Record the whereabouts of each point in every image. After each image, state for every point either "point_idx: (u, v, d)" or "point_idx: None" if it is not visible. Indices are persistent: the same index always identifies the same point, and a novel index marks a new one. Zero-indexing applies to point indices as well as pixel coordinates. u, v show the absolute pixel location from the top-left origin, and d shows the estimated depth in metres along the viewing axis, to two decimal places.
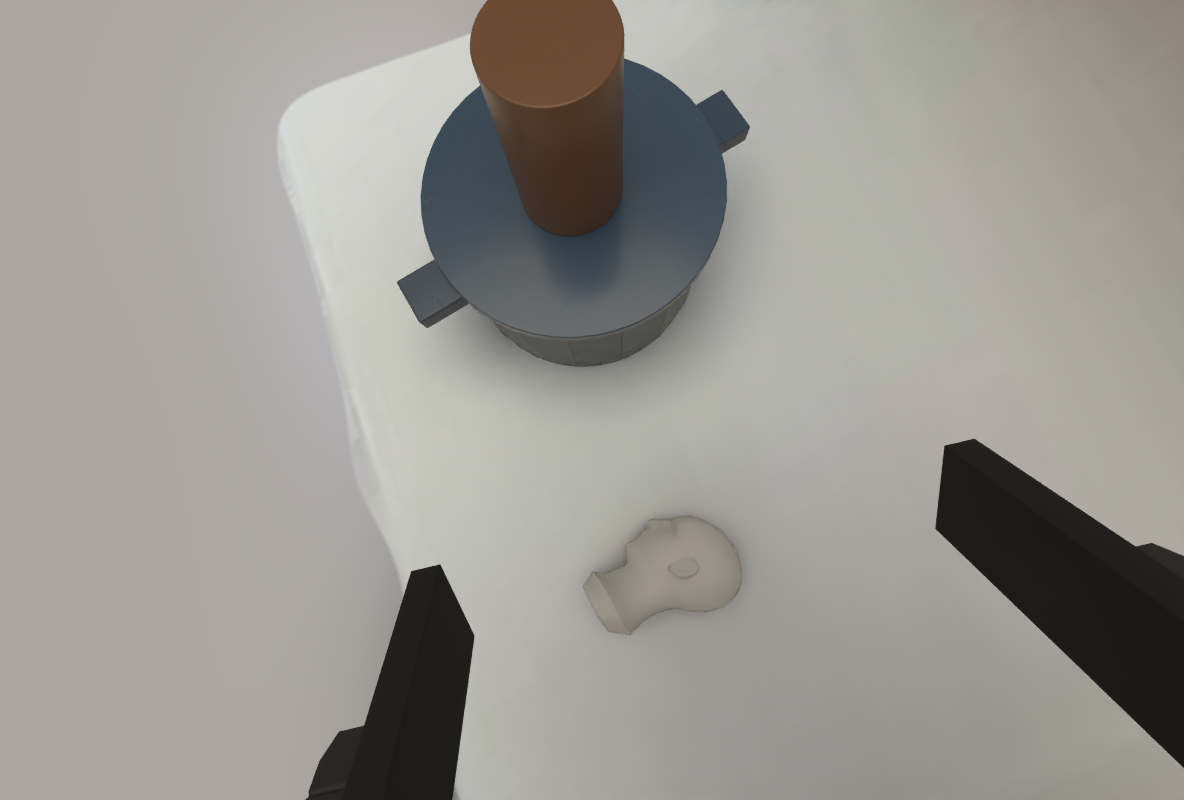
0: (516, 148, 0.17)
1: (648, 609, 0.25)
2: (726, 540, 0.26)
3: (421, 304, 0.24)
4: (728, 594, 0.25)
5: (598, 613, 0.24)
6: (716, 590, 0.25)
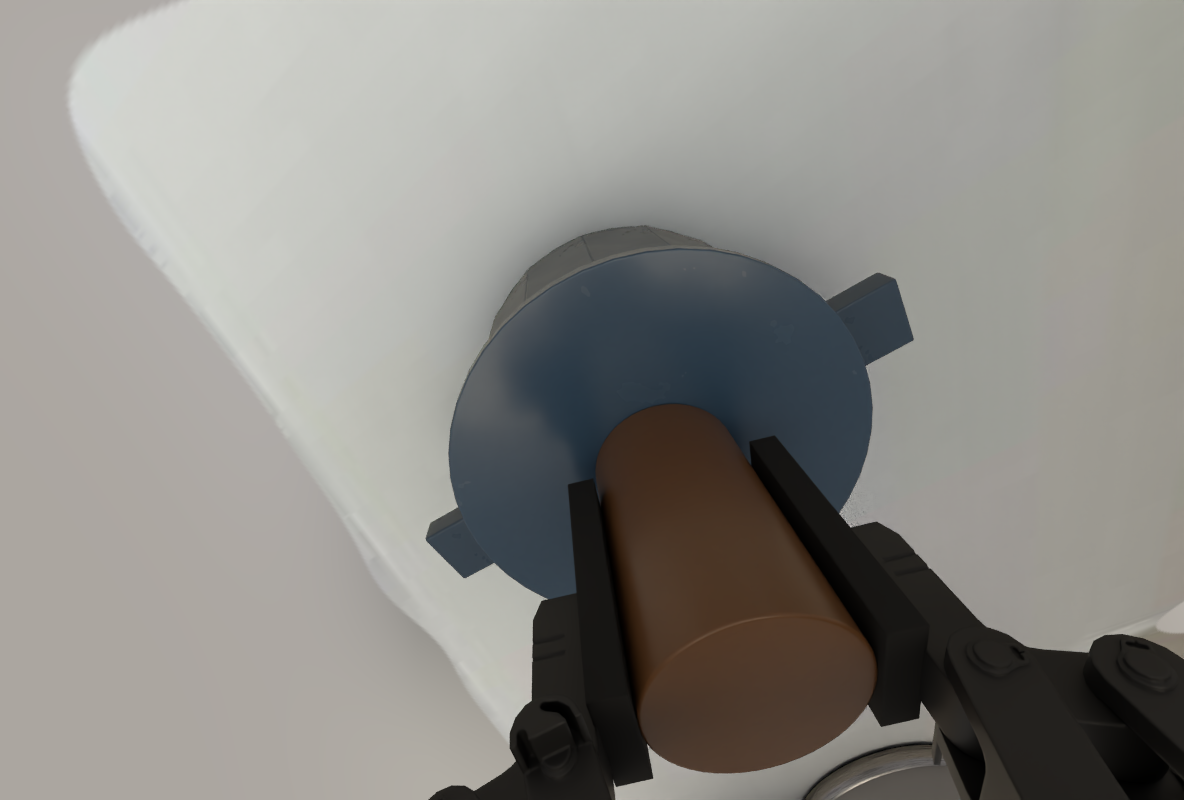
0: None
1: None
2: None
3: (463, 562, 0.19)
4: None
5: None
6: None
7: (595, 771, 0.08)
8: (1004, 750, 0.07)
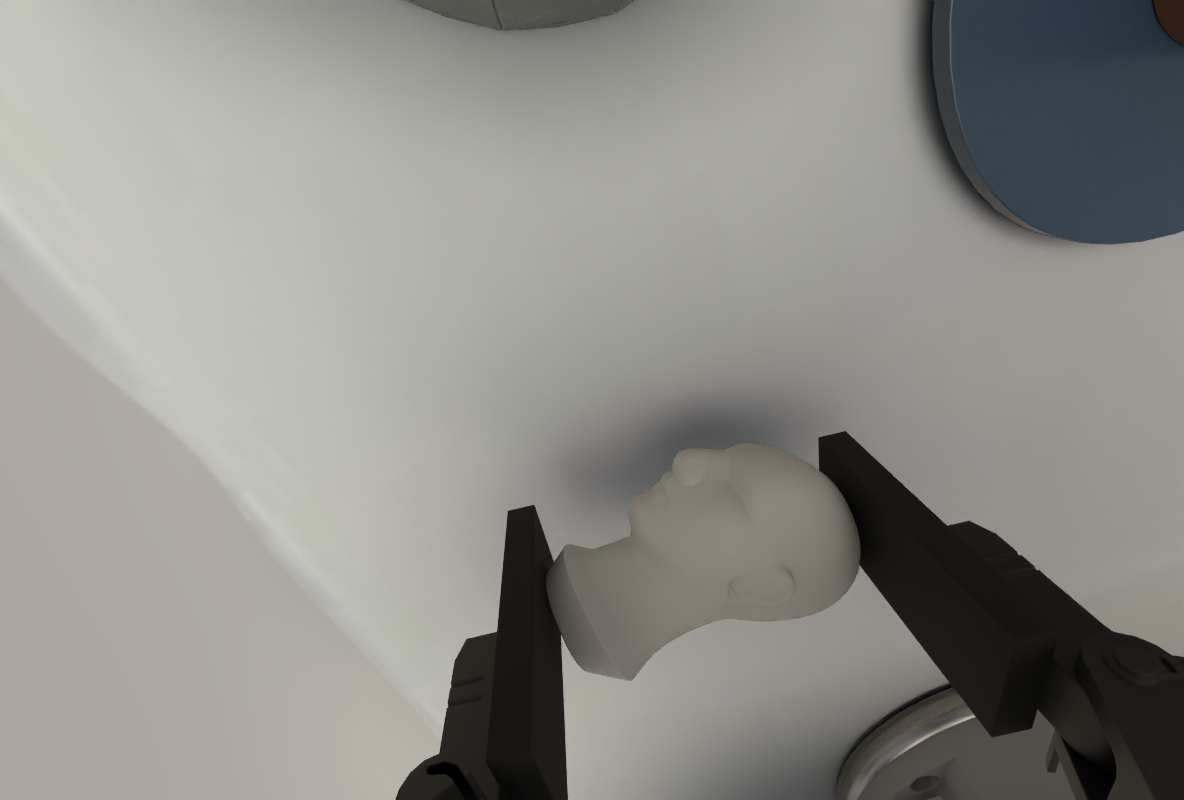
0: None
1: (677, 635, 0.13)
2: (846, 510, 0.12)
3: None
4: None
5: (583, 667, 0.12)
6: (815, 608, 0.12)
7: None
8: (1143, 758, 0.07)
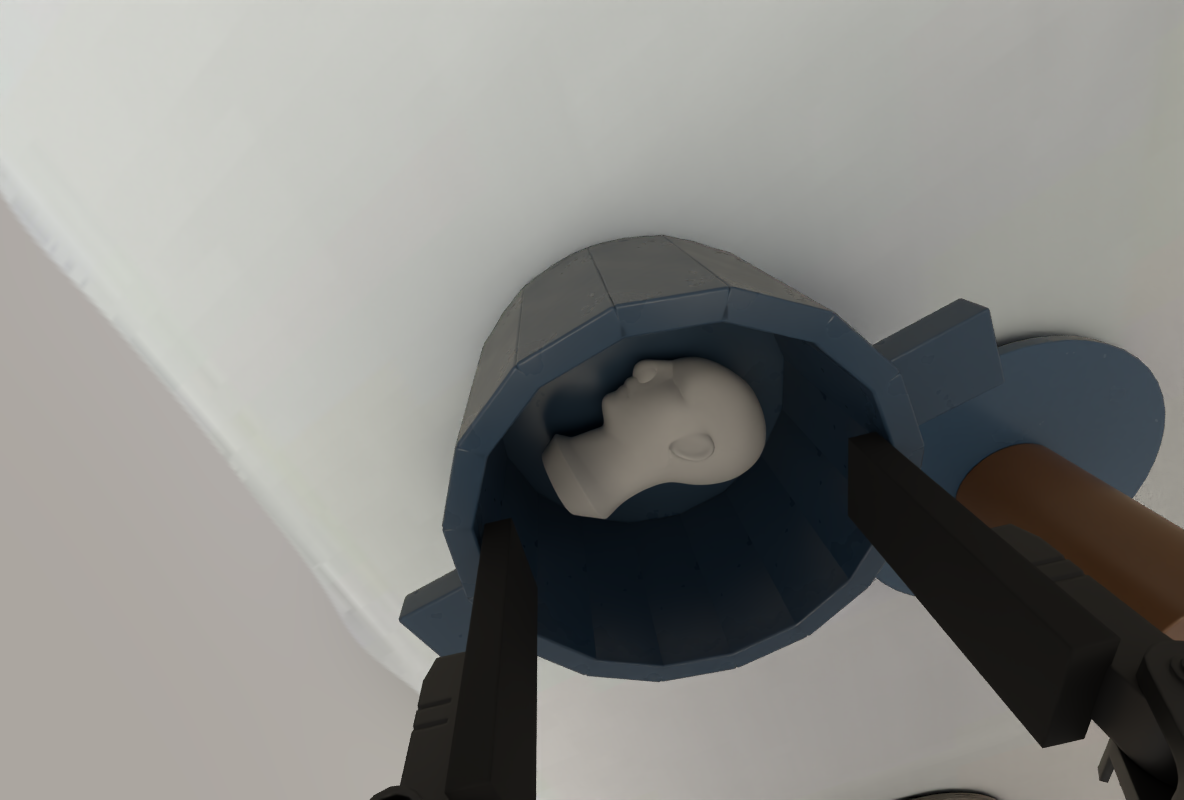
0: None
1: (635, 491, 0.18)
2: (753, 399, 0.17)
3: (445, 644, 0.16)
4: (745, 470, 0.18)
5: (568, 507, 0.17)
6: (732, 469, 0.18)
7: None
8: None
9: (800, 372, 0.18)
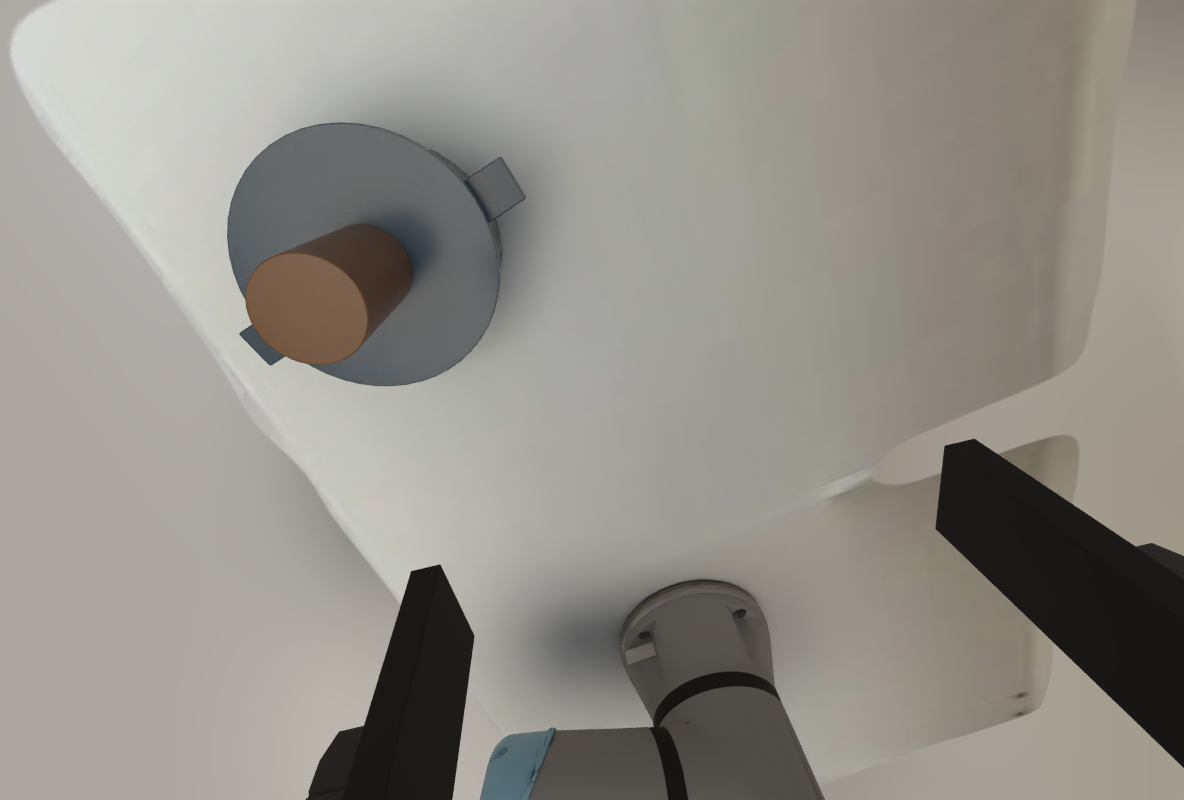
0: None
1: None
2: None
3: (266, 352, 0.30)
4: None
5: None
6: None
7: None
8: None
9: None
